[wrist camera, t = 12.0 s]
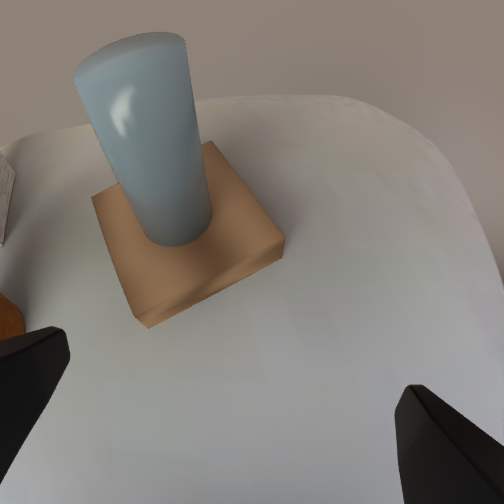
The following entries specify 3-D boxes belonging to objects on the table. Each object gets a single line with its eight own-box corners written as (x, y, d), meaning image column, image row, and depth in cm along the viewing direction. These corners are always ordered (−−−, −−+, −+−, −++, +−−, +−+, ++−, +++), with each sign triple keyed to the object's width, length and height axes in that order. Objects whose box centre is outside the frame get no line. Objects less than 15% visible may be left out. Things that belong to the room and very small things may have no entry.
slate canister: (179, 260, 20) (115, 97, 9) (127, 223, 22) (54, 78, 11) (227, 205, 22) (210, 39, 11) (173, 176, 24) (136, 28, 13)
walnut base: (148, 328, 21) (133, 316, 19) (104, 217, 26) (91, 197, 23) (281, 257, 24) (285, 237, 21) (214, 164, 28) (211, 140, 26)
